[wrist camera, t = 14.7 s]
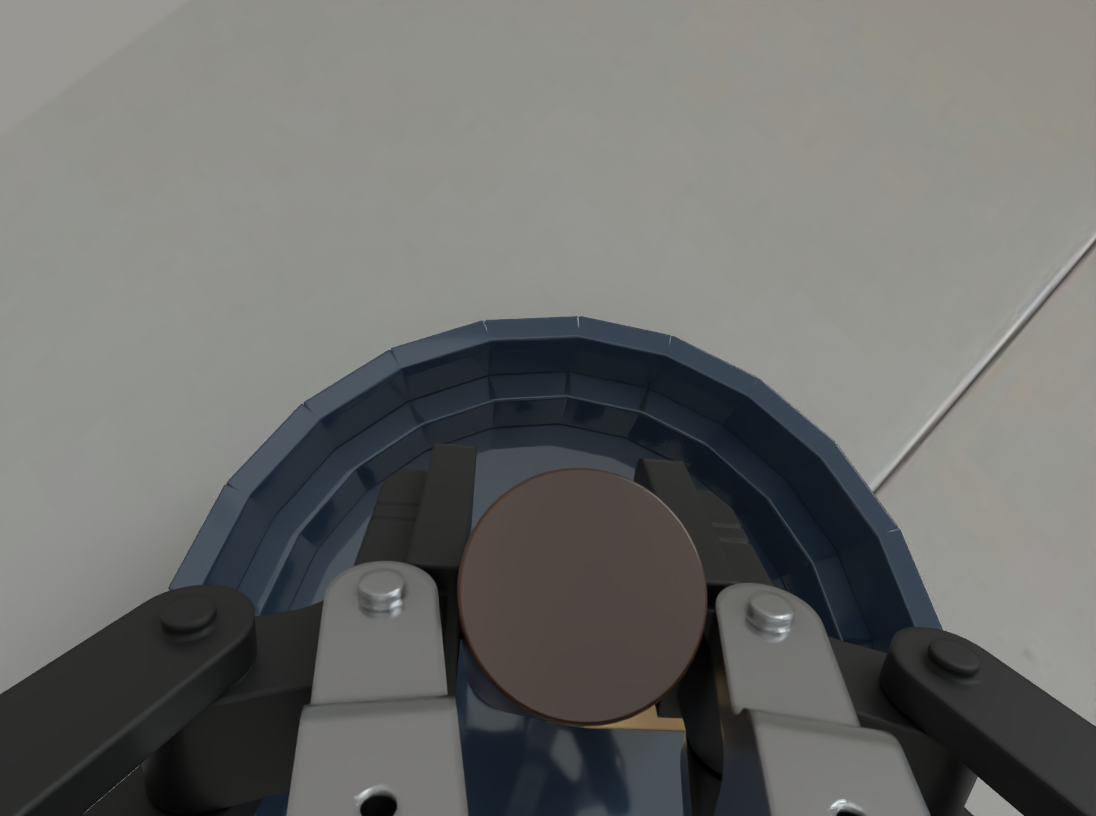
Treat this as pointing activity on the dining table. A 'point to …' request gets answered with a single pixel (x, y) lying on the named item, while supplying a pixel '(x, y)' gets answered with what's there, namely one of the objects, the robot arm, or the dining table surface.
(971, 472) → the dining table surface
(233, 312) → the dining table surface
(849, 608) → the bowl
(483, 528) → the brown cylinder
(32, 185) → the dining table surface
